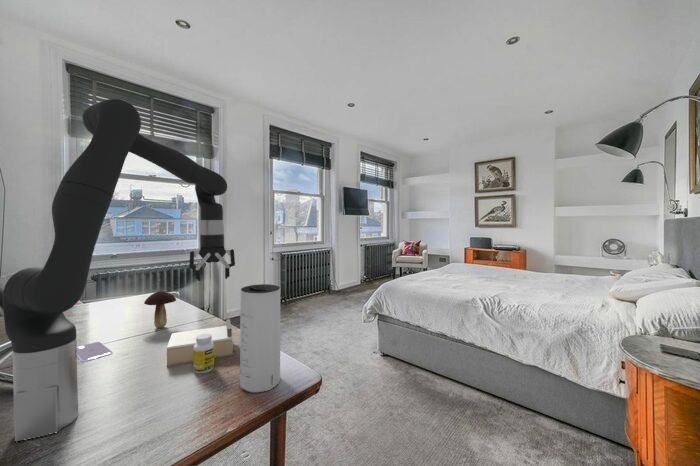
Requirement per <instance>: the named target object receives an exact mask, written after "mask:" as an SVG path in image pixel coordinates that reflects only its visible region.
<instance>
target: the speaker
mask: <svg viewBox="0 0 700 466" xmlns="http://www.w3.org/2000/svg"><path fill="white" fill-rule="evenodd" d="M281 289H282V288H281V286H280V285H276V284H271V283H270V284H268V283H267V284H266V283H261V284H260V283H259V284H251V285H246V286H243V287H241V288H240V295H239V296H240V308H239V309H240V310H239V311H240V314H239V315H240V317H239V318H240V319H239V320H240V328H239V329H240V331H239V333H240V334H239V335H240V336H239V337H240V338H239V339H240V342H239V344H240V345H239V346H240V347H239V349H240V350H239V356H240V357H239V358H240V359H239V362H240V363H239V368H240V370H239V372H240V373H239V376H240V377H239V378H240V379H239V384H240V388H241V389H242V390H243V391H244V392H245V393H246V392H247V393H250V394H251V393H253V394H258V393H259V392H260V393H264V391H265V392H268V391H270V390H272V389H274V388H276V387H277V386H278V385H279V383H280V381H281ZM277 384H278V385H277ZM276 385H277V386H276ZM275 386H276V387H275ZM273 387H274V388H273ZM260 393H259V394H260Z"/></svg>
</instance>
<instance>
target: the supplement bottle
mask: <svg viewBox="0 0 700 466" xmlns="http://www.w3.org/2000/svg"><path fill="white" fill-rule="evenodd" d="M211 340H212V335H211V334H202V335H199V336H197V337H196V343H197V344H195V345H194V349H193V364H192V365H193V368H192V369H193V373H195V374H207V373H209V372H211V371H213V369H214V368H215V359H214V343H213V342H212V341H211Z"/></svg>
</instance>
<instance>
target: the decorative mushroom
mask: <svg viewBox="0 0 700 466" xmlns="http://www.w3.org/2000/svg"><path fill="white" fill-rule="evenodd" d="M176 301H177V298H176V297H175V295H173V294H172V293H170V292H167V291H163V290H159V291H155V292H154V293H152V294H150V295H149V296H148V297H147V298H146V299H145V300H144V303H143V305H146V306H155V308H154V309H155V310H154V317H153V320H154V321H153V325H154V327H155V328H156V329H163V328H165V327H166V326H167V323H168V320H167V316H168V315H167V311H166V310H167V309H166V306H165V304H170V303H174V302H176Z"/></svg>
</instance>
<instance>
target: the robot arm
mask: <svg viewBox="0 0 700 466" xmlns="http://www.w3.org/2000/svg"><path fill="white" fill-rule="evenodd" d="M81 117H82V118H81V119H82V123H83V125H84V127H85V128H86V130H87V131H88V132H89V133H90V134H91V135H92V138H91V140H90V142H89V144H88V145H87V146H86V148H85V149H84V150H83V152H81V154H80V155H79V156H78V157H77V159H76V160H75V161H74V162H73V163H72V164H71V165H70V167H69V168H68V169H67V171H66V172H65V174H64V175H63V177H62V179H61V181H60V183H59V184H58V188H57V190H56V192H55V195H54V198H53V200H52V203H51V215H52V222H53V230H54V239H53V240H54V241H53V244H52V248H51V251H50V252H49V255H48V257H47V260H46V262H45V264H44V266H32V267H26V268H23V269H20V270H18V271H17V272H15V273H14V274H12V275H11V276H10V277H9V279H8V280H7V281H6V283H5V285H4V287H3V291H2V310H3V321H4V328H5V335H6V336H7V339H9V341H10V343H11V348H12V349H11V351H12V355H11V356H12V385H13V386H12V387H13V418H14V419H13V420H14V421H13V422H14V423H13V424H14V427H13V428H14V442H15V441H18V440H24V439H28V438H34V437H38V438H40V437H39V436H42V435H46V434H49V433H55V432H58V431H59V432H60V431H61V430H62V429H64V428H65V427H67V426H69V425H70V424H71V423H72V422H74V421H75V420H76V419H77V417H78V415H79V395H78V394H79V391H78V390H79V389H78V386H79V385H78V359H77V358H78V357H77V347H78V346H77V328H76V325H75V324H74V323H72V322H71V320H69V319H68V318H67V317H66V316H65V314H64V312H66V311H68V310H70V309H71V308H74V306H75V305H76V304H77V303H78V302H79V301H80V299H81V298H82V296H83V294H84V292H85V289H86V285H87V281H88V276H89V274H90V268H91V267H90V266H91V264H92V259H93V254H94V251H95V248H96V243H97V241H98V238H99V235H100V232H101V231H102V230H101V229H102V226H103V223H104V220H105V218H106V215H107V213H108V211H109V208H110V205H111V202H112V200H113V197H114V194H115V190H116V187H117V184H118V183H119V182H118V181H119V179H120V176H121V173H122V170H123V167H124V164H125V161H126V159H127V157H128V155H129V153H130V154H134V155H135V156H138V157H140V158H142V159H143V160H145V161H148V162H150V163H152V164H154V165H156V166H157V167H159V168H161V169H163V170H165V171H167V172H168V173H170V174H171V175H173V176H174V177H177V178H178V179H180V180H181V181H183V182H185V183H187V184H193V185H194V190H195V195H196V198H197V202H198V205H199V207H200V208H199V210H200V211H199V213H200V224H199V239H200V240H199V242H200V243H199V244H200V245H199V246H200V249H199V251H198V250H193V249H192V250H190V252H189V266H188V267H189V269H191V270H195V279H196V280H198V282H201V268H202V267H203V265H204V264H205V263H208V264H210V263H218V262H221V264H223V266H224V278H225V280H227V279H228V278H230V275H231V274H230V272H231V271H230V268H232V267H235V266H236V260H235V250H234V249H233V248H230V249H225V226H224V209H223V208H224V207H223V205H222V204H221V203H218V202H217V201H216V199H215V196H217V197H218V196H222V195H224V194H225V193H226V192H227V190H228V184H227V183H228V182H227V180H226V179H225V178H224V177H223V176H222V175H221V174H220V173H218V172H216V171H213V170H212V169H209V168H207V167H205V166H203V165H200V164H198V163H197V162H196V161H194V160H193V159H192V158H190V157H189V156H187V155H186V154H184V153H182V152H181V151H179V150H177V149H175V148H172V147H170V146H168V145H165V144H162V143H159V142H157V141H155V140H152V139H150V138H148V137H147V136H144V135H143V134H141V133H140V131H141V127H142V118H141V116H140V114H139V111H138V110H137V108H136V107H135V106H134V105H133V104H132V103H131V102H129V101H127V100H125V99H121V98H109V99H104V100H102V101H100V102H97V103H95V104H92V105H90V106H89V107H87V108H86V109H85V110H83V112H82V116H81ZM226 254H227V255H228V256H230V257H229V258H230V262H227V261H226V259H225V258H224V257H225V255H226ZM198 255H199V256H200V258H201V260H200V261H199V262H198V263H197V264H195V263H194V262H195V258H196V257H197V256H198ZM63 427H64V428H63ZM61 428H62V429H61ZM59 432H58V433H59ZM34 439H35V438H34Z"/></svg>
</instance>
